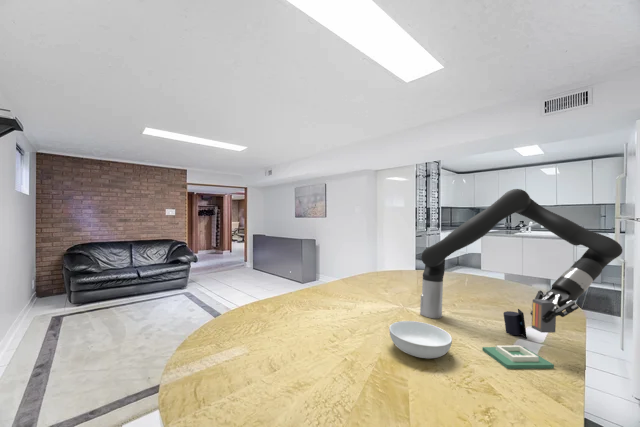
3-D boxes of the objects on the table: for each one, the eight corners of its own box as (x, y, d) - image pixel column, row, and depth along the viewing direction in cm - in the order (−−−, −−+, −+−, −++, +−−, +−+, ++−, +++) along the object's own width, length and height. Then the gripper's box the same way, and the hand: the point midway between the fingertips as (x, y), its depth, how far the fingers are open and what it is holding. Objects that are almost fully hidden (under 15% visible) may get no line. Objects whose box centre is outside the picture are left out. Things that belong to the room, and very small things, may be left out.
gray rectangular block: (541, 332, 94) (542, 302, 94) (531, 327, 98) (532, 299, 98) (555, 332, 95) (556, 303, 95) (544, 327, 99) (545, 299, 99)
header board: (507, 368, 89) (507, 360, 89) (482, 350, 101) (482, 342, 101) (553, 368, 90) (554, 360, 90) (524, 350, 102) (524, 342, 102)
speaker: (527, 334, 116) (525, 309, 117) (527, 339, 112) (524, 313, 112) (506, 330, 121) (503, 306, 122) (504, 335, 117) (502, 310, 117)
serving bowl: (425, 374, 85) (425, 351, 85) (376, 345, 102) (377, 326, 102) (464, 357, 96) (465, 337, 96) (414, 334, 113) (415, 317, 113)
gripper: (547, 271, 104) (515, 303, 103) (586, 281, 90) (549, 318, 89) (559, 286, 104) (528, 318, 104) (600, 297, 90) (564, 335, 89)
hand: (538, 318), depth 96 cm, fingers closed on gray rectangular block, 4 cm apart
